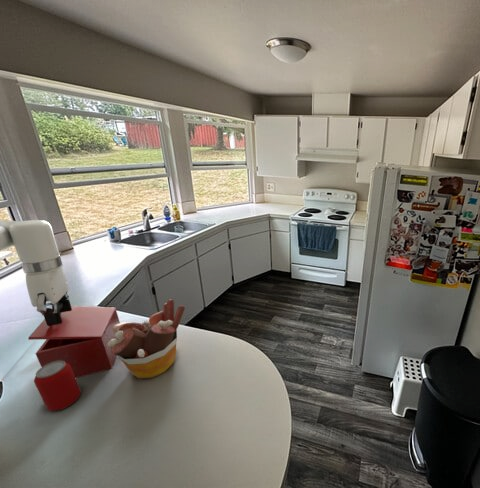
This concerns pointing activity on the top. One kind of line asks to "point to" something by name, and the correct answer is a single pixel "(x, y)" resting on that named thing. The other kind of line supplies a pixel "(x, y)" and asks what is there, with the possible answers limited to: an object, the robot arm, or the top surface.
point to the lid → (76, 323)
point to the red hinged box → (81, 352)
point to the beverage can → (57, 385)
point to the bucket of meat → (148, 342)
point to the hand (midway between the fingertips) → (60, 317)
